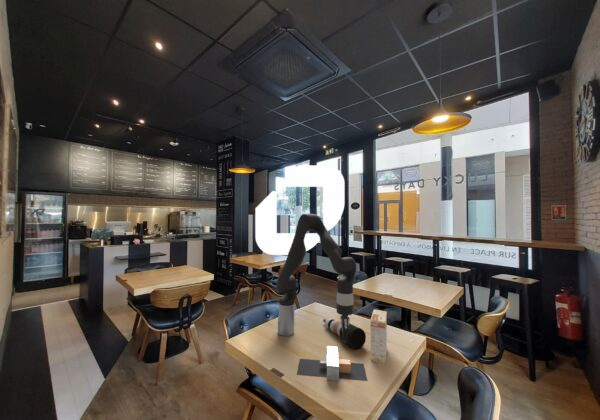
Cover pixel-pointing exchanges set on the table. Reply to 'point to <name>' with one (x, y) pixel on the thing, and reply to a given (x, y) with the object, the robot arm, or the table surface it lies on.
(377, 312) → the coffeecake box
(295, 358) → the table surface
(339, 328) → the black white tapered bottle
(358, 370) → the mat
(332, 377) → the housing
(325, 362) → the plug
